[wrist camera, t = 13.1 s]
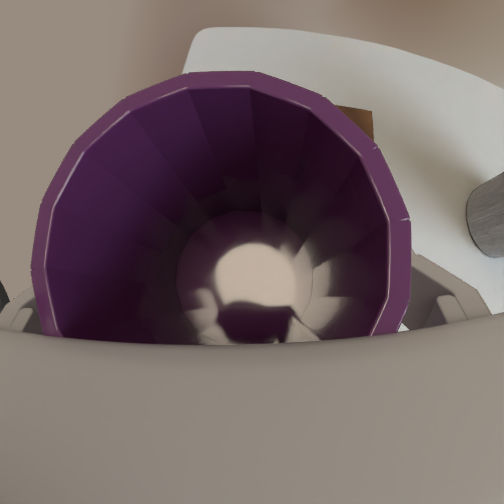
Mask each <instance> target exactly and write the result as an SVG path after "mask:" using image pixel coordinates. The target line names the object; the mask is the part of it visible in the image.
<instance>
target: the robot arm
mask: <svg viewBox="0 0 504 504" xmlns="http://www.w3.org/2000/svg"><path fill="white" fill-rule="evenodd" d="M408 304H409V306H408V309H407V311H406V314H405V316H404V318H403V320H402V323H403V324H404V325H405V326H406V327H407V328H408V329H409V330H408V331H401V332H397V333H391V334H383V335H375V336H363V337H354V338H344V339H333V340H321V341H307V342H291V343H271V344H241V345H170V344H142V343H124V342H109V341H96V340H85V339H74V338H64V337H53V336H45V335H43V331H42V327H41V323H40V318H39V314H38V309H37V305H36V300H35V295H34V289H33V285H32V286H31V287H29V288H28V289H27V290H25V291H24V292H22V293H21V294H20V295H19V296H17V297H16V298H14V299H13V300H12V301H10V302H9V303H8V304H6V305H5V307H4V308H3V310H2V312H1V313H0V504H504V312H503V313H498V314H494V315H492V314H491V312H490V310H489V309H488V307H487V305H486V304H485V302H484V300H483V299H482V297H481V295H480V294H479V292H478V291H477V290H476V289H475V288H473V287H472V286H470V285H469V284H467V283H466V282H464V281H462V280H461V279H459V278H458V277H456V276H455V275H453V274H451V273H450V272H448V271H446V270H445V269H443V268H442V267H440V266H438V265H437V264H435V263H433V262H432V261H430V260H428V259H427V258H425V257H423V256H422V255H416V254H415V253H414V251H413V249H412V248H411V292H410V302H408Z"/></svg>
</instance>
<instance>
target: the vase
mask: <svg viewBox="0 0 504 504" xmlns="http://www.w3.org/2000/svg"><path fill="white" fill-rule="evenodd" d="M467 221H468V226H469V230H470V233H471V235H472V237H473V239H474V241H475V243H476V244H477V246H478V247H479V248H480V250H481V251H483V252H484V253H485V254H486V255H488V256H491V257H504V172H503V173H501V174H499V175H498V176H496V177H494V178H493V179H491V180H489V181H488V182H486V183H484V184H482V185H481V186H479V187H478V188H477V189H475V190H474V191H473V192H472V194H471V195H470V198H469V200H468V204H467Z"/></svg>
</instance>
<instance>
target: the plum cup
mask: <svg viewBox="0 0 504 504" xmlns="http://www.w3.org/2000/svg"><path fill="white" fill-rule="evenodd" d="M377 147H378V146H377V144H376V143H375V142H374V141H373V140H371V139H370V138H369V137H368V136H367V135H366V134H365V133H364V132H363V131H362V130H361V129H360V128H359V127H358V126H357V125H356V124H355V123H354V122H353V121H352V120H350V119H349V118H348V117H347V116H346V115H345V114H344V113H343V112H342V111H341V110H339V109H338V108H337V107H336V106H335V105H334V104H333V103H331V102H330V101H329V100H328V99H327V98H326V97H322V95H320V94H318V93H315V92H313V91H310V90H308V89H305V88H303V87H300V86H297V85H295V84H292V83H289V82H287V81H284V80H281V79H278V78H275V77H272V76H269V75H266V74H263V73H260V72H255V71H210V72H190V73H188V74H182V75H179V76H177V77H174V78H171V79H168V80H166V81H163V82H161V83H158V84H156V85H153V86H150V87H148V88H146V89H143V90H141V91H138V92H136V93H134V94H132V95H129V96H127V97H126V98H125V99H122V100H121V101H119V102H118V103H117V104H116V105H115V106H113V107H112V108H111V109H110V110H109V111H108V112H106V113H105V114H104V115H103V116H102V117H101V118H99V119H98V120H97V121H96V122H95V123H94V124H93V125H92V126H91V127H89V129H87V130H86V131H85V132H84V133H83V134H82V135H81V136H80V137H79V138H78V139H77V140H76V141H75V144H73V145H72V146H71V148H70V149H69V151H68V153H67V154H66V156H65V158H64V159H63V161H62V163H61V165H60V167H59V168H58V170H57V172H56V174H55V176H54V177H53V179H52V181H51V183H50V185H49V187H48V189H47V191H46V193H45V195H44V197H43V199H42V203H41V204H40V209H39V215H38V220H37V225H36V231H35V237H34V244H33V251H32V260H31V277H32V283H33V289H34V295H35V300H36V305H37V309H38V314H39V318H40V323H41V327H42V331H43V335H45V336H53V337H64V338H74V339H85V340H96V341H109V342H124V343H142V344H170V345H241V344H271V343H291V342H307V341H321V340H333V339H344V338H354V337H363V336H375V335H383V334H391V333H397V332H398V329H399V327H400V325H401V323H402V320H403V318H404V316H405V314H406V311H407V309H408V306H409V304H408V302H410V292H411V222H410V220H409V219H410V217H409V214H408V211H407V209H406V206H405V204H404V202H403V199H402V197H401V194H400V192H399V190H398V187H397V185H396V183H395V181H394V178H393V176H392V174H391V172H390V169H389V167H388V165H387V163H386V161H385V159H384V157H383V155H382V153H381V151H380V149H379V148H377Z"/></svg>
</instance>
